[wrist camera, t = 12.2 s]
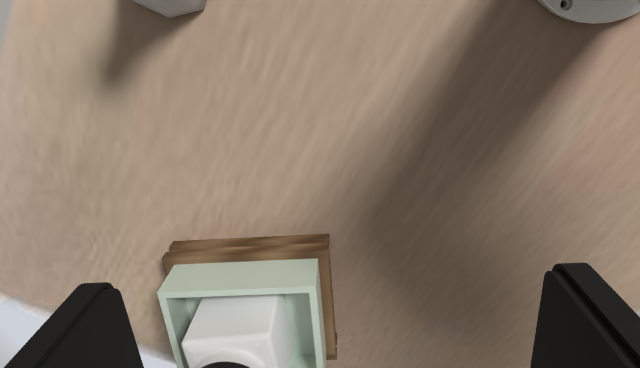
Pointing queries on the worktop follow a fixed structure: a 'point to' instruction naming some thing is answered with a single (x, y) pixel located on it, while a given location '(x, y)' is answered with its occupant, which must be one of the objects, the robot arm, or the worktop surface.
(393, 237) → the worktop surface
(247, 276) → the sage crate
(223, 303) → the medicine bottle
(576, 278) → the robot arm
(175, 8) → the flask
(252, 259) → the brown wooden flat block
